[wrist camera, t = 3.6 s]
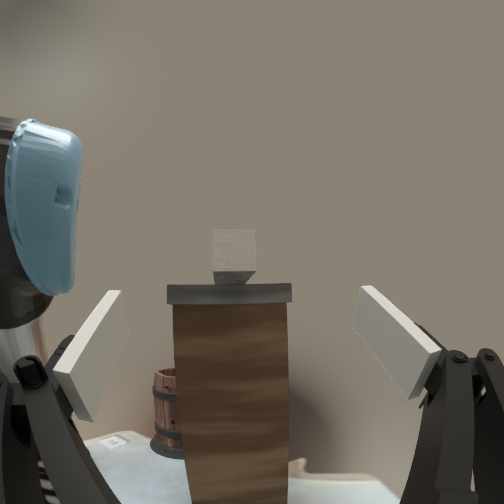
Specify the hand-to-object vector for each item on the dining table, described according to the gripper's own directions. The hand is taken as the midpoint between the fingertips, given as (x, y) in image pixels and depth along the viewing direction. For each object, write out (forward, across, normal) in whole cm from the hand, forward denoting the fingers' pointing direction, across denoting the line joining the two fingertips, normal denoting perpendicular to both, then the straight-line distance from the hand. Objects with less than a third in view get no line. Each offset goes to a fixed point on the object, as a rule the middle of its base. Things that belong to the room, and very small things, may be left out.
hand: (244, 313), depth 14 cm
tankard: (+23, -11, -53) cm, 58 cm away
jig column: (0, 0, -40) cm, 40 cm away
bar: (+19, 0, -8) cm, 20 cm away
